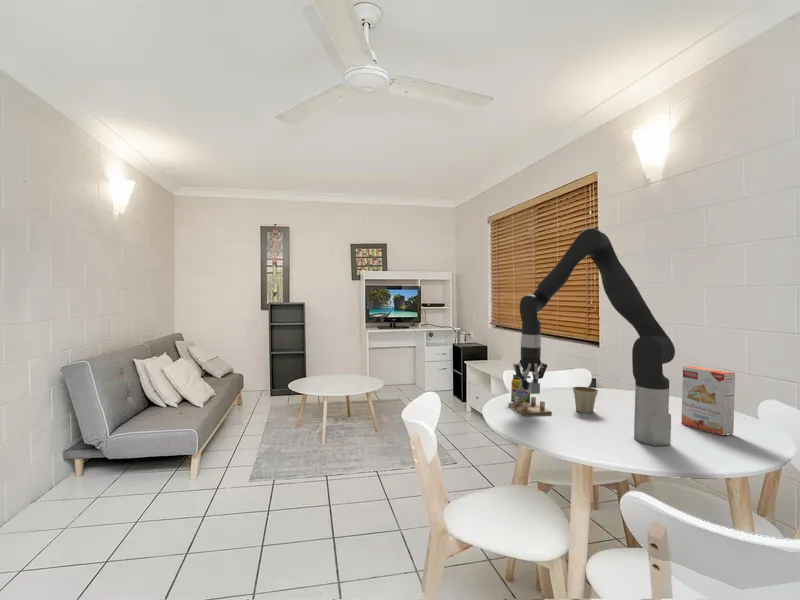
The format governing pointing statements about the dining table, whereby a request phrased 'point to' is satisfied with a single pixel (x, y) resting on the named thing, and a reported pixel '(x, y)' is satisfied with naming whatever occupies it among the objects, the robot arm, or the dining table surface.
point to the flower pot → (585, 398)
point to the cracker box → (708, 399)
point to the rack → (530, 407)
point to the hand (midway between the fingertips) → (529, 389)
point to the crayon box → (519, 391)
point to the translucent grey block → (531, 386)
